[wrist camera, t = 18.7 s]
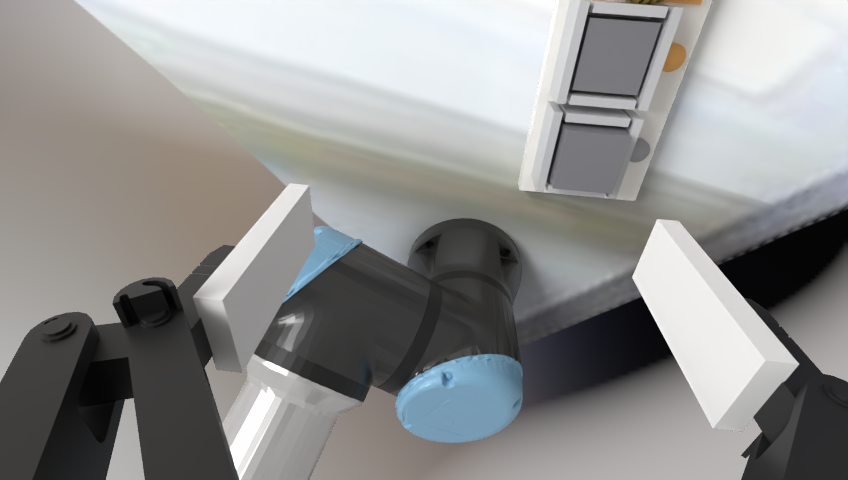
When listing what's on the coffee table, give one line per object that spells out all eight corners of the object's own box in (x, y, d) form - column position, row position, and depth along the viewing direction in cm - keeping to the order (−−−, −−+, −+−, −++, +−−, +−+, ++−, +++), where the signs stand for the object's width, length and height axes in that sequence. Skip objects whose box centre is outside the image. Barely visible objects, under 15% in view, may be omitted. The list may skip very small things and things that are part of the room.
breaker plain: (602, 179, 43) (612, 194, 40) (547, 174, 44) (552, 188, 41) (620, 124, 40) (631, 136, 37) (560, 119, 40) (567, 131, 37)
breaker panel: (629, 193, 48) (647, 218, 43) (517, 182, 49) (523, 206, 44) (746, -122, 33) (796, -139, 28) (582, -132, 33) (602, -150, 28)
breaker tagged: (624, 86, 40) (637, 95, 37) (564, 81, 40) (572, 90, 37) (646, 19, 37) (661, 23, 34) (580, 14, 37) (590, 17, 34)
